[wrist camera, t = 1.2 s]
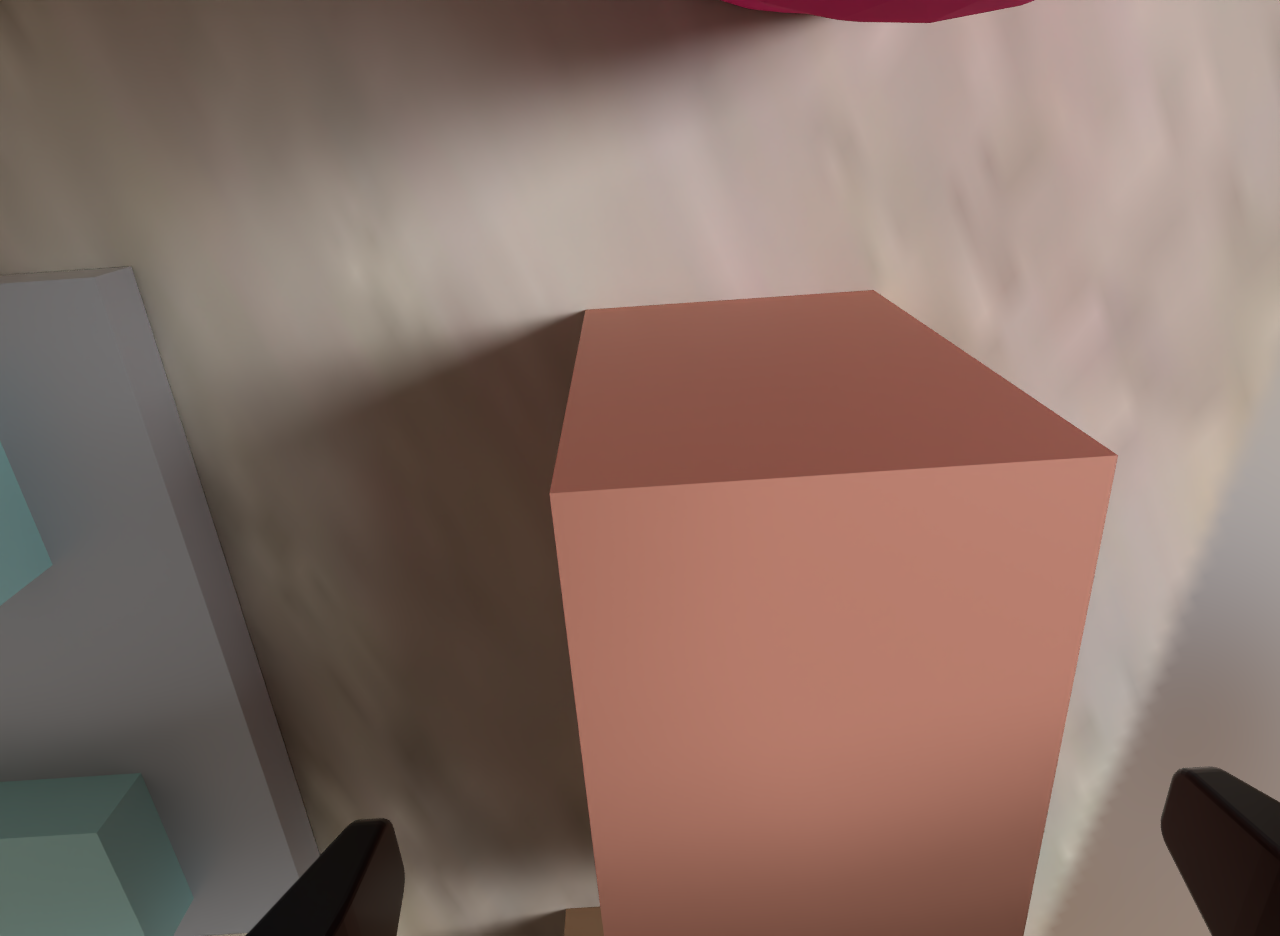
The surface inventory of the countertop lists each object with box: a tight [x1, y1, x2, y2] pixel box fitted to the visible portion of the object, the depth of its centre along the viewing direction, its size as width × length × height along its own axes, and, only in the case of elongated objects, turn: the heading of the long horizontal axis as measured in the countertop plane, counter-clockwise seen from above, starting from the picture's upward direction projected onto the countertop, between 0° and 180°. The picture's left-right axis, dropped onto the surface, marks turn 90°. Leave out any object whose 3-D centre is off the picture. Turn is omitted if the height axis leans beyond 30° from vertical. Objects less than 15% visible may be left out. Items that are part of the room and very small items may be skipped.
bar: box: [549, 290, 1118, 936], centre depth 10 cm, size 10×4×6 cm, turn 4°
